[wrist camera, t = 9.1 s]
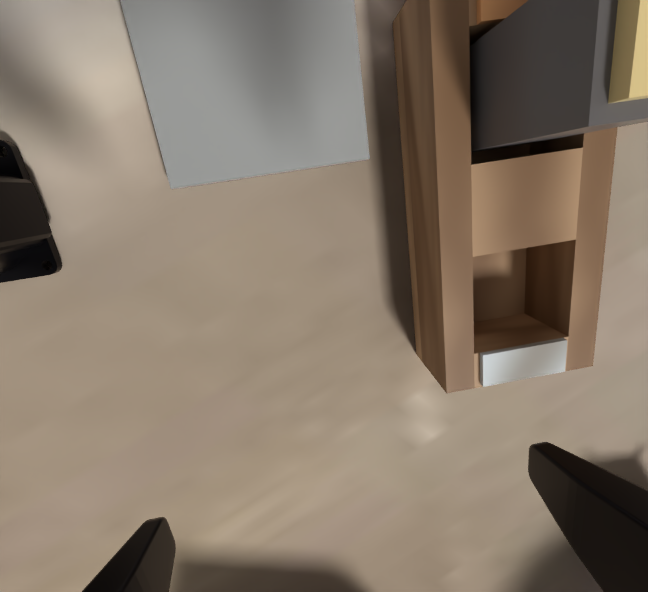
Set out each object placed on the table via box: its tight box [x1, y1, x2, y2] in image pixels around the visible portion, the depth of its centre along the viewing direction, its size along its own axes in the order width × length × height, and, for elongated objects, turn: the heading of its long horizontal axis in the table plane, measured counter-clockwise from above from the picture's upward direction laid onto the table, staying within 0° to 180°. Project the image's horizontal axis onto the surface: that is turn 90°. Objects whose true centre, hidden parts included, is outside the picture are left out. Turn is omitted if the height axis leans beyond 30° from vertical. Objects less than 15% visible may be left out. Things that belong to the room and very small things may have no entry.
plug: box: [469, 0, 648, 152], centre depth 13 cm, size 4×4×10 cm
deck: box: [120, 0, 370, 189], centre depth 16 cm, size 10×10×1 cm
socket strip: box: [393, 0, 617, 393], centre depth 18 cm, size 8×18×5 cm, turn 9°
